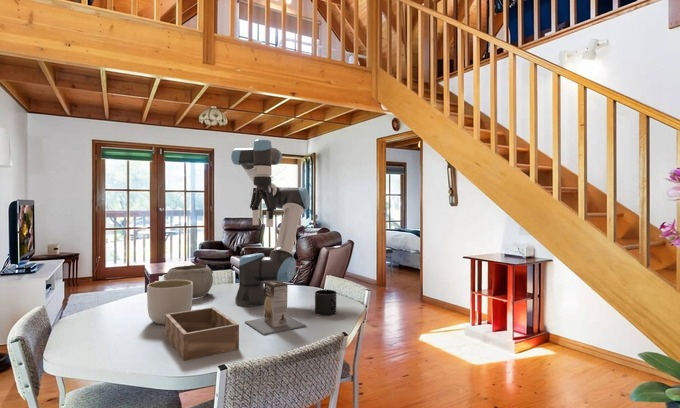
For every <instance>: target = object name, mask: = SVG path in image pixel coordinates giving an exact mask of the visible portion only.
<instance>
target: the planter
mask: <svg viewBox="0 0 680 408" xmlns="http://www.w3.org/2000/svg"><path fill="white" fill-rule="evenodd" d="M192 294H193V282H192V281H189V280H166V279H165V280H157V281H154V282H150V283H148V284H147V285H146V299H147V300H146V301H147V303H146V305H147V312H148V313H147V314H148V317H149V318H150V320H151V321H153V322H154V323H155V324H158V325H163V326H165V314H170V313H177V312H184V311H190V310H192V307H193V299H192Z"/></svg>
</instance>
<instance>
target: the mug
mask: <svg viewBox="0 0 680 408" xmlns="http://www.w3.org/2000/svg"><path fill="white" fill-rule="evenodd" d="M314 313H315V314H316V315H318V314H319V316H333V315H335V314H337V291H336V290H333V289H319V290H316V291H315V292H314Z"/></svg>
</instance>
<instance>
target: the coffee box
mask: <svg viewBox="0 0 680 408" xmlns="http://www.w3.org/2000/svg"><path fill="white" fill-rule="evenodd" d="M288 289H289V287H288V283H287V282H281V281H279V280H276V281H269V282H268V281H264V304H263V305H264V306H263V309H264V310H263V316H264V317H263V318H264V322H266V323H267V324H269V325H270V326H272V327H278V326H284V325H287V316H288Z"/></svg>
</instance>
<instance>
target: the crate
mask: <svg viewBox="0 0 680 408" xmlns="http://www.w3.org/2000/svg"><path fill="white" fill-rule="evenodd" d="M164 338H166V340H167V341H168V343H170V345H171V347H172V348H173V349H174V350H175V351H176V353H177V354H178V356H179V357H180V358H181V359H182V360H183V361H189V360H193V359H199V358H203V357H207V356H213V355H217V354H221V353H226V352H230V351H235V350H239V349H240V324H239V323H237V322H236V321H235V320H233V319H231V318H230V317H228V316H227V315H226V314H224V313H223V312H222V311H220V310H219V309H217V308H216V307H214V306H212V307H205V308H199V309H191V310H190V311H184V312H177V313H170V314H165V325H164Z"/></svg>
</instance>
